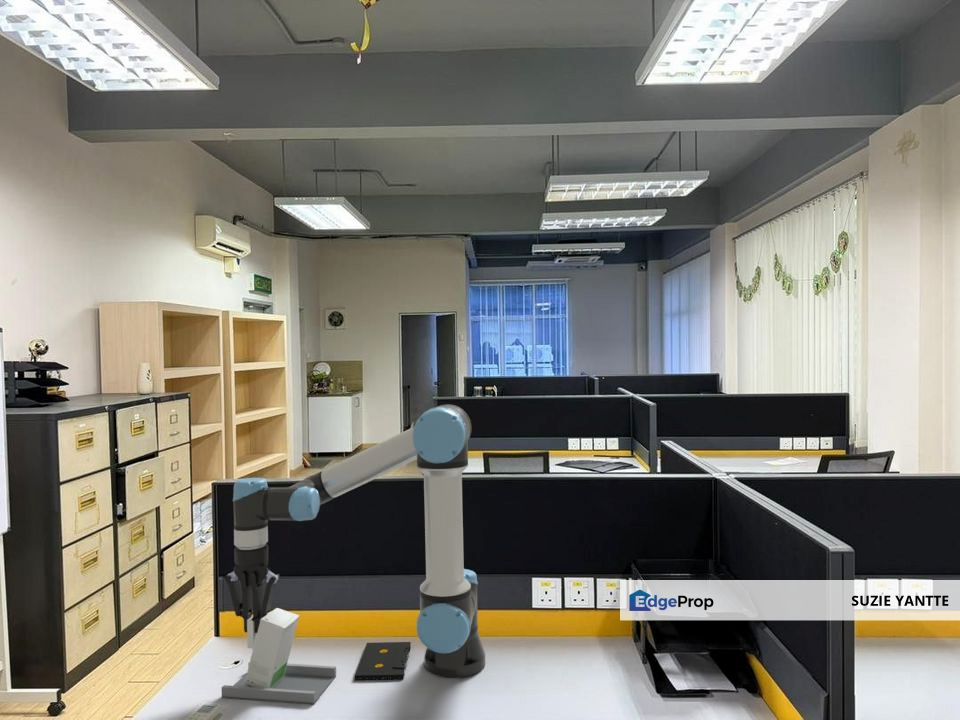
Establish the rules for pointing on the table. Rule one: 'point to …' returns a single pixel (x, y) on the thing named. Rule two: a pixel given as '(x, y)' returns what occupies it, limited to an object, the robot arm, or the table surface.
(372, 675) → the cassette tape
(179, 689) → the table surface
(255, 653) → the skincare box
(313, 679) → the rubber tray
